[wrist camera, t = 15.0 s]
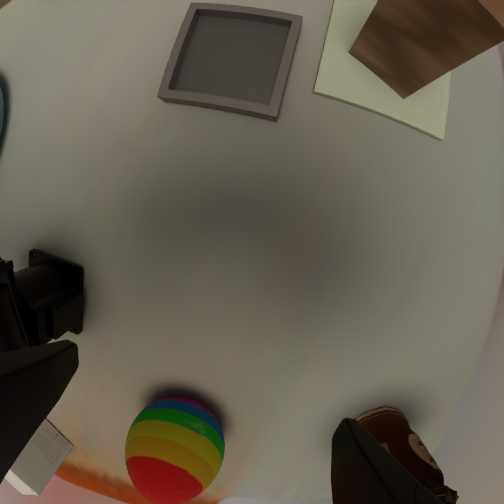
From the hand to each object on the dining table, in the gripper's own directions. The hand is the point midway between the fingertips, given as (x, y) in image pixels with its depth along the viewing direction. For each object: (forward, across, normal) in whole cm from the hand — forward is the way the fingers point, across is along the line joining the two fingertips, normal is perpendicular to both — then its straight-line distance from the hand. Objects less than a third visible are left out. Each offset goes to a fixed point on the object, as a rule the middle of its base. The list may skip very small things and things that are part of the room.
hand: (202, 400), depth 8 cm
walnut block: (+12, -6, -18) cm, 23 cm away
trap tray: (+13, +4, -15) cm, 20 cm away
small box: (+13, +21, +31) cm, 40 cm away
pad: (+13, -6, -18) cm, 24 cm away
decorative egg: (+13, +2, +15) cm, 20 cm away
